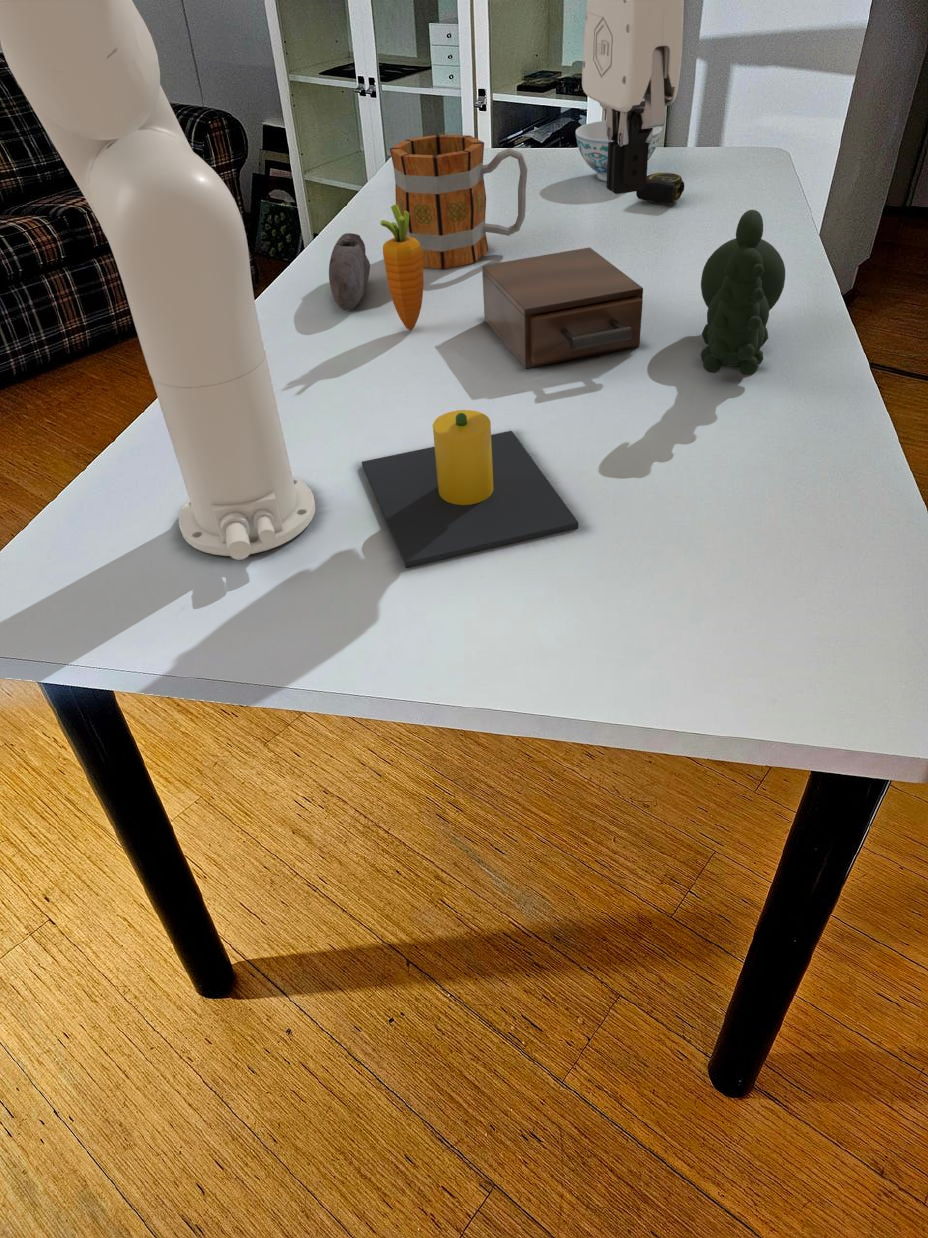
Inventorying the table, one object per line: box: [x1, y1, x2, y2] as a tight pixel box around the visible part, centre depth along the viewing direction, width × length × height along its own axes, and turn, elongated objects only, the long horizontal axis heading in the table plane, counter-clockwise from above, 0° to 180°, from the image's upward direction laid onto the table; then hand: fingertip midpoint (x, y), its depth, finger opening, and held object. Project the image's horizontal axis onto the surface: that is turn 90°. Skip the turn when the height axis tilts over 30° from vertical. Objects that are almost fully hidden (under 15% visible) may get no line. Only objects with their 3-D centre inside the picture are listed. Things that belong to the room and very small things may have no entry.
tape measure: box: [635, 172, 685, 205], centre depth 148 cm, size 7×7×4 cm
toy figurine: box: [699, 209, 786, 376], centre depth 99 cm, size 9×19×25 cm
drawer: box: [530, 297, 643, 364], centre depth 106 cm, size 19×13×5 cm
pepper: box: [432, 409, 493, 505], centre depth 81 cm, size 5×5×8 cm
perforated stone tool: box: [328, 232, 371, 312], centre depth 122 cm, size 15×5×7 cm, turn 178°
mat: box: [361, 430, 579, 568], centre depth 84 cm, size 18×16×1 cm
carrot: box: [379, 204, 425, 331], centre depth 110 cm, size 5×5×15 cm
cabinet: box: [481, 246, 644, 369], centre depth 109 cm, size 16×15×7 cm
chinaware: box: [575, 120, 662, 182], centre depth 159 cm, size 15×15×8 cm
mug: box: [389, 134, 529, 270], centre depth 131 cm, size 20×14×15 cm
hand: (625, 189), depth 81 cm, fingers closed
